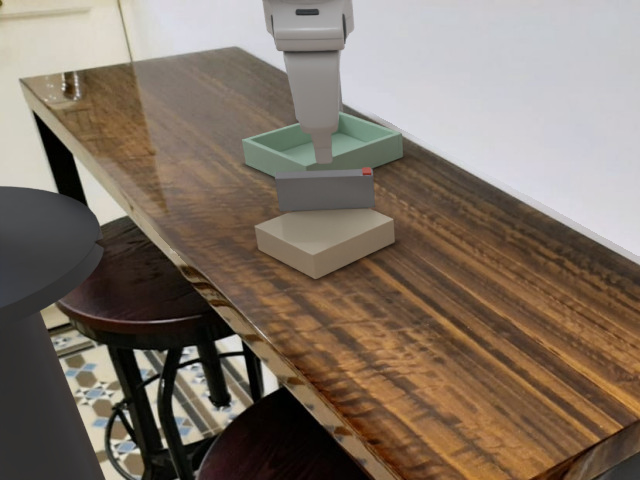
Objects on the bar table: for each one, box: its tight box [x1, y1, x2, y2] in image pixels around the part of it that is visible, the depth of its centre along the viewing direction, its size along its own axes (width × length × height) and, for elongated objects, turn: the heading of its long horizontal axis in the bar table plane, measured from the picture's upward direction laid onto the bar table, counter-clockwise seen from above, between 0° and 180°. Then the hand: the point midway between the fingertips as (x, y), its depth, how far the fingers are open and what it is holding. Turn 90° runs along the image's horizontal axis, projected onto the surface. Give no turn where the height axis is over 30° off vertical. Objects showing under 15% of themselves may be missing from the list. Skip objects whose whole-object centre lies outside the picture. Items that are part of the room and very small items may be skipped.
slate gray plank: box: [274, 167, 376, 212], centre depth 86 cm, size 11×2×4 cm, turn 101°
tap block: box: [253, 208, 396, 280], centre depth 85 cm, size 12×10×3 cm
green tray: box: [241, 111, 404, 178], centre depth 106 cm, size 18×14×4 cm
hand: (324, 145), depth 83 cm, fingers open, 8 cm apart
